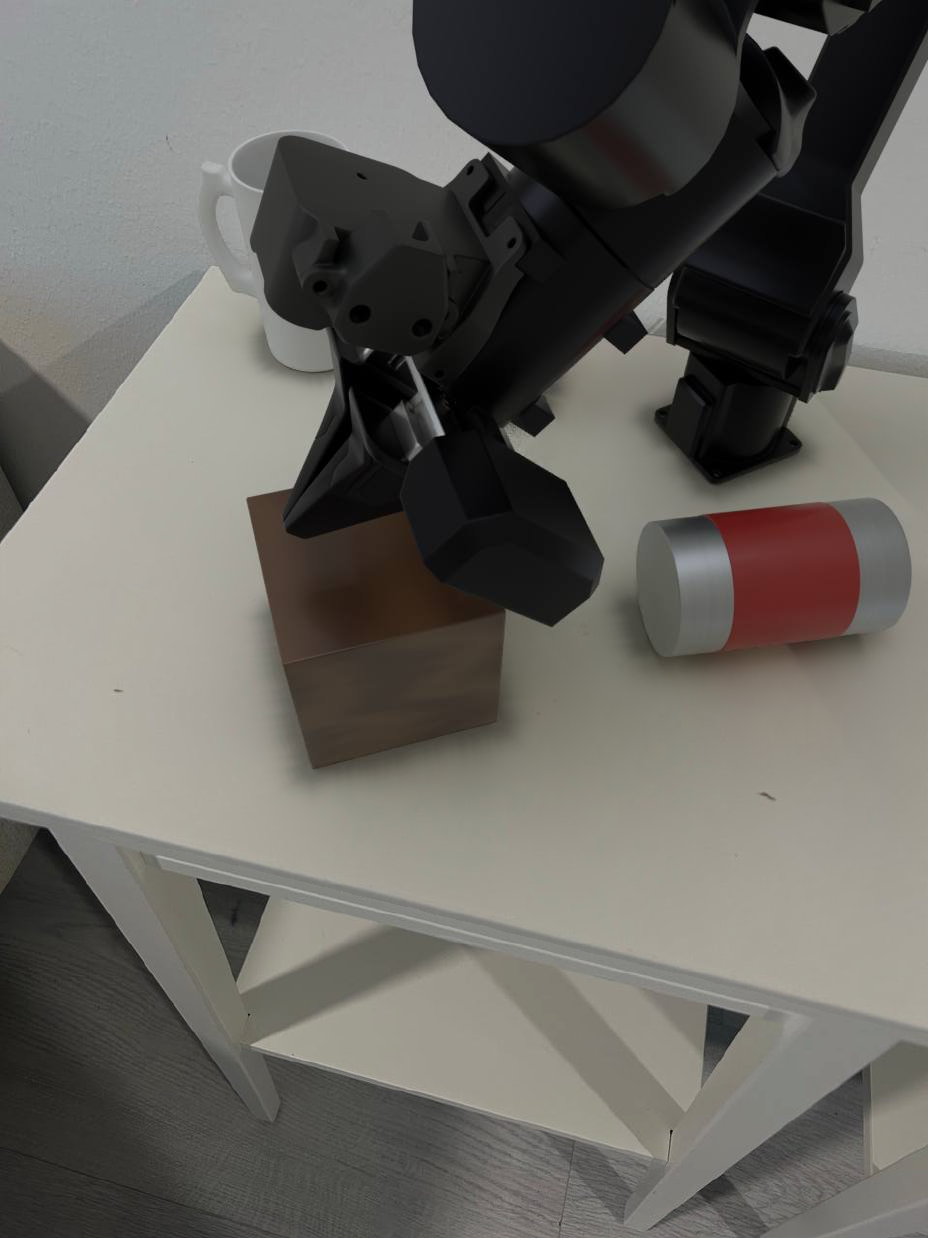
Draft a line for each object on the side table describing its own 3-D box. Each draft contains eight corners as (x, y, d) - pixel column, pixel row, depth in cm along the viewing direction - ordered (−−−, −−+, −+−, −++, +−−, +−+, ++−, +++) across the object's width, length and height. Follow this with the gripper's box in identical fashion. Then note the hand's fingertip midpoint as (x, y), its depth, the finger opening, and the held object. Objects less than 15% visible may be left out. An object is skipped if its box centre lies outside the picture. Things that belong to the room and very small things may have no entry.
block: (446, 578, 49) (445, 455, 41) (497, 721, 44) (507, 611, 36) (278, 616, 47) (245, 496, 40) (311, 769, 42) (281, 665, 35)
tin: (924, 620, 41) (690, 649, 40) (852, 640, 48) (648, 665, 47) (895, 478, 42) (665, 503, 41) (828, 516, 49) (628, 538, 48)
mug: (384, 321, 61) (371, 140, 51) (345, 385, 57) (323, 204, 47) (247, 291, 63) (209, 110, 53) (201, 351, 59) (150, 169, 49)
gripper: (331, -94, 28) (77, 284, 35) (533, 252, 18) (116, 687, 25) (551, 133, 36) (307, 404, 43) (780, 464, 25) (410, 748, 33)
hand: (292, 529), depth 35 cm, fingers closed
